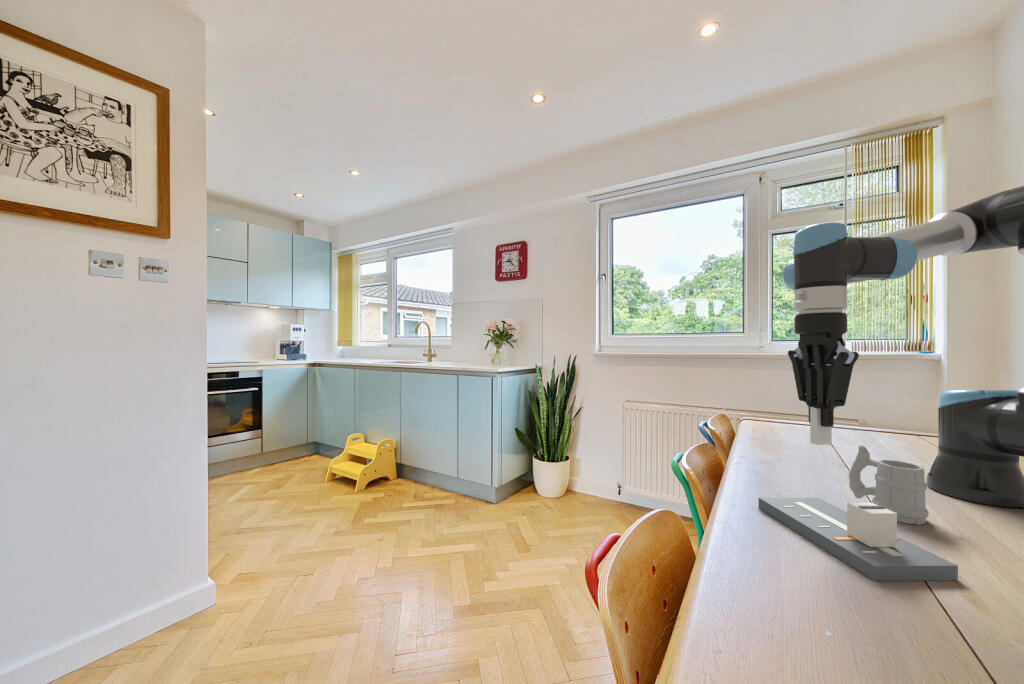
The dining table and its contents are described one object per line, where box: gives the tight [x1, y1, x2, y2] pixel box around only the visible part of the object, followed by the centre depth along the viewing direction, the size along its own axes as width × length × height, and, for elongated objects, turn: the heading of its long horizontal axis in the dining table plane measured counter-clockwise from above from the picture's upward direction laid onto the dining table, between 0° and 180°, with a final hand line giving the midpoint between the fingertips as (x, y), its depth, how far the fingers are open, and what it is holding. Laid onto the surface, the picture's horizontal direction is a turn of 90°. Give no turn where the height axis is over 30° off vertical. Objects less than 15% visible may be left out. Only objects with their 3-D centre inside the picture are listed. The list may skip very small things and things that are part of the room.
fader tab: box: [846, 502, 898, 547], centre depth 62 cm, size 4×4×5 cm
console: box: [757, 497, 959, 582], centre depth 67 cm, size 12×24×2 cm, turn 3°
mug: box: [848, 444, 929, 525], centre depth 78 cm, size 8×12×12 cm, turn 28°
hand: (820, 443), depth 72 cm, fingers closed
